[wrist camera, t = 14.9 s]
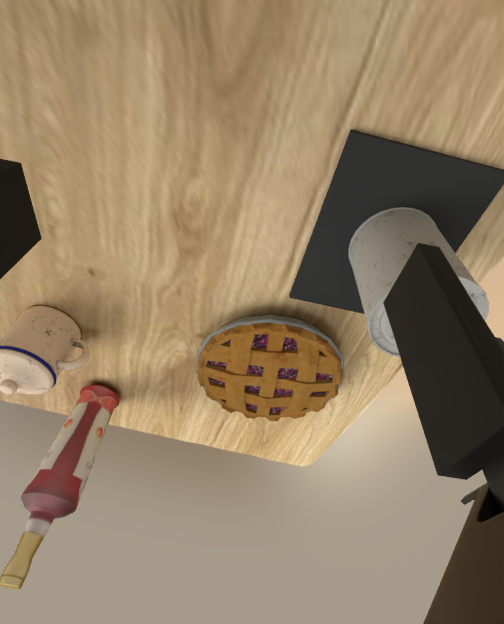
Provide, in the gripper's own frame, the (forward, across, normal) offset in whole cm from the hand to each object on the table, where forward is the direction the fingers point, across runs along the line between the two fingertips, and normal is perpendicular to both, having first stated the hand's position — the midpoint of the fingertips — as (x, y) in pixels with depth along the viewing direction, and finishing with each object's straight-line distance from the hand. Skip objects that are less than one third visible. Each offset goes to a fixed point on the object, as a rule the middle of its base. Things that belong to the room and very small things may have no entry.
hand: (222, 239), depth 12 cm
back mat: (+25, +16, -12) cm, 32 cm away
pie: (+24, +8, -34) cm, 43 cm away
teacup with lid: (+24, -24, -35) cm, 49 cm away
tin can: (+24, +17, -12) cm, 32 cm away
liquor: (+24, -19, -50) cm, 59 cm away
